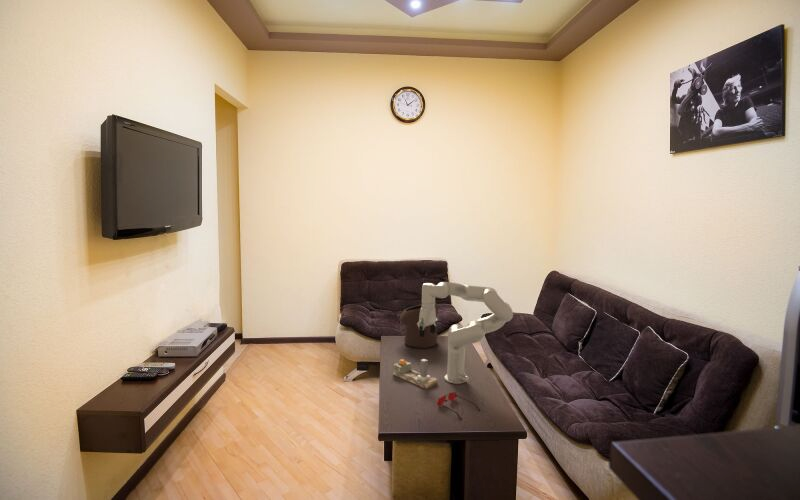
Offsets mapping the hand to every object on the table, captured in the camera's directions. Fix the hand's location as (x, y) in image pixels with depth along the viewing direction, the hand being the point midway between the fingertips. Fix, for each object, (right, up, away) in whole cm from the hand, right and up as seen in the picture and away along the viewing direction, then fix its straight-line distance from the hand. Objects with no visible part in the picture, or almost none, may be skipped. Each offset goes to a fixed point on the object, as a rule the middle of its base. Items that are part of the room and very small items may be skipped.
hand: (427, 334), depth 230 cm
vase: (-2, -19, +63) cm, 66 cm away
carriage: (-2, -24, -5) cm, 25 cm away
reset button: (-14, -20, +7) cm, 25 cm away
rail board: (-7, -25, 0) cm, 26 cm away
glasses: (+13, -30, -33) cm, 46 cm away
